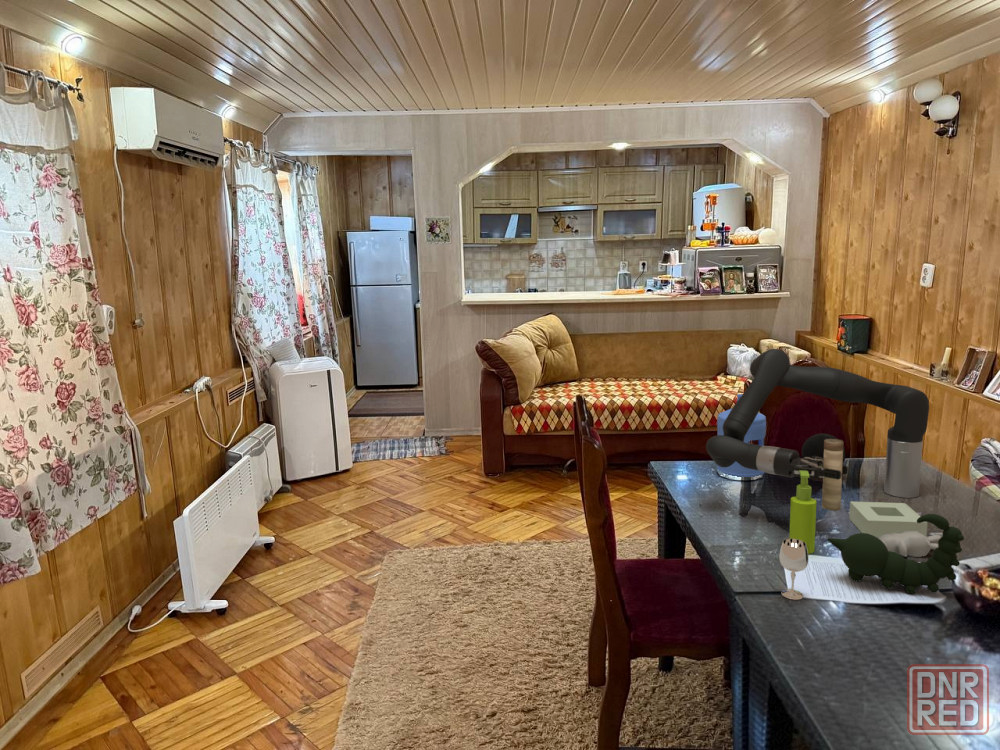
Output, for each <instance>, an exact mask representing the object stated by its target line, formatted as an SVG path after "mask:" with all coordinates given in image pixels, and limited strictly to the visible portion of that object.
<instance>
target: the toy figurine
mask: <svg viewBox="0 0 1000 750" xmlns="http://www.w3.org/2000/svg"><path fill="white" fill-rule="evenodd" d="M920 516H921V517H919V518H918V519H917V523H921V522H928V523H929V524H933V526H935V527H936V528H937V529H939V530H942V537H941V538H940V539H939V541H937V543H938V548H936V549H935V550H934V549H933V553H932V556H931V557H929V558H928V559H926V561H920V562H919V561H916V560H914V559H911V558H907V559H906V558H905V557H904V556H902V555H900V554H898V553H896V552H892V551H888V549H887V547H886V546H885V544H884V543H883V542H882V541H881V540H880V539H878V538H877V537H875V536H873V535H871V534H867V533H862V532H860V533H853V534H852V535H850V536H847V538H834V537H829V538H827V539H826V540H827V542H829V543H830V544H831V545H833V546H834V547H835V548H836V549H837V550H839V552H840V555H841V560H842V561H843V563H844V566H846V568H847V569H848V570H847V571H848V572H847V574H848V578H850V580H851V581H854V582H861V581H863V579H864V577H868V578H869V577H875V576H877V577H878V578H879V579H880V582H881V586H882V587H884V588H885V589H892V588H894V587H895V584H897V583H898V584H900V585H901V586H903V587H905V588H904V590H905V592H906V593H907V592H908V593H907V594H910V593H911V595H912V594H915V593H916V592H917V588H921V587H922V586H924V587H927V590H928V591H929V592H931V593H938V591H939V590H940V588H939V585H938V583H939V581H940V580H941V579H945V578H946V579H948V580H949V581H955V580H957V575H956V573H955V570H954V567H958V566H960V561H959V559H958V556H957V554H959V553H961V552H963V549H962V547H961V542H963V541H964V540H965V537H964V535H963V533H962V531H961V530H960V529H959V528H958V527H955V526H950V523H949V521H948V519H946V518H945V517H943V516H942V515H939V514H936V513H927V514H922V515H920ZM953 566H954V567H953Z"/></svg>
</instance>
